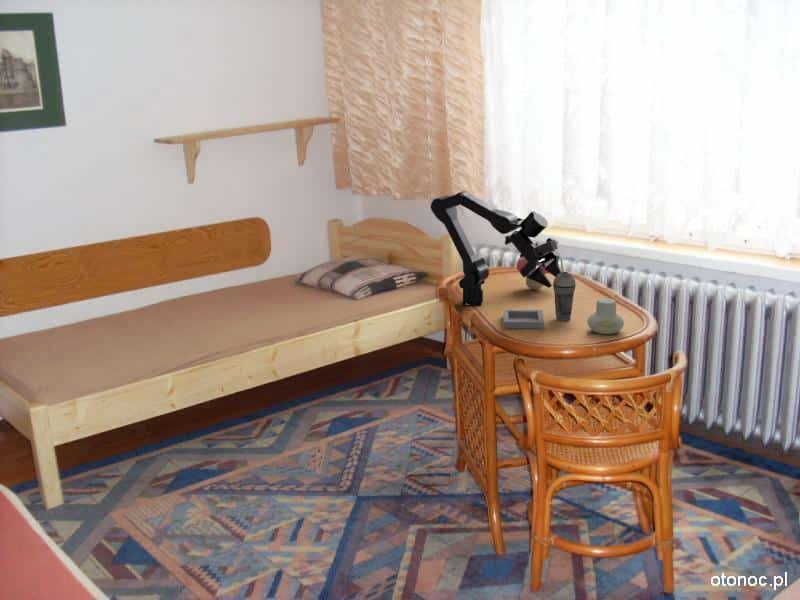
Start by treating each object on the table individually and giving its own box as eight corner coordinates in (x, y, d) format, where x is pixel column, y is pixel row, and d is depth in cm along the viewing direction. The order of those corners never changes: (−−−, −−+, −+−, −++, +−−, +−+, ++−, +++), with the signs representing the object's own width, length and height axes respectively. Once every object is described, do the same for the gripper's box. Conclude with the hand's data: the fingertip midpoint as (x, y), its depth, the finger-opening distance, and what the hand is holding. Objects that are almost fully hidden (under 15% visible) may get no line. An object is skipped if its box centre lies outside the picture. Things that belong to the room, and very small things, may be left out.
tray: (503, 329, 277) (503, 321, 276) (503, 316, 289) (503, 309, 288) (543, 329, 275) (544, 322, 275) (542, 317, 287) (542, 310, 287)
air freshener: (622, 328, 276) (623, 297, 273) (624, 336, 268) (625, 305, 265) (586, 326, 277) (587, 296, 274) (587, 335, 270) (588, 304, 267)
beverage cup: (574, 322, 281) (576, 262, 275) (551, 321, 283) (553, 261, 277) (574, 315, 288) (577, 256, 282) (552, 314, 289) (553, 255, 284)
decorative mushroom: (551, 296, 310) (552, 254, 305) (513, 294, 313) (514, 253, 309) (555, 285, 322) (556, 245, 318) (518, 284, 325) (519, 244, 321)
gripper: (529, 236, 274) (561, 275, 271) (554, 225, 289) (585, 261, 286) (506, 258, 281) (537, 296, 278) (532, 246, 295) (562, 282, 293)
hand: (556, 283), depth 283 cm, fingers open, 9 cm apart
